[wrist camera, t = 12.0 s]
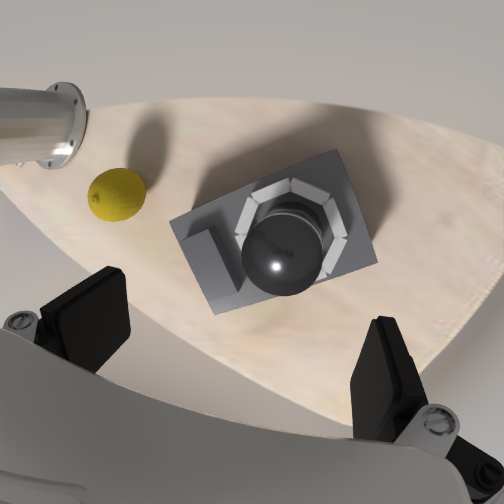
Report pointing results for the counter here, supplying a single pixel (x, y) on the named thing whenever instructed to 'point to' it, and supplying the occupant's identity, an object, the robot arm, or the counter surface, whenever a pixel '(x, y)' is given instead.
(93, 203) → the lemon
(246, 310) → the counter surface
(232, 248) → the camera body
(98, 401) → the robot arm
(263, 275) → the lens
